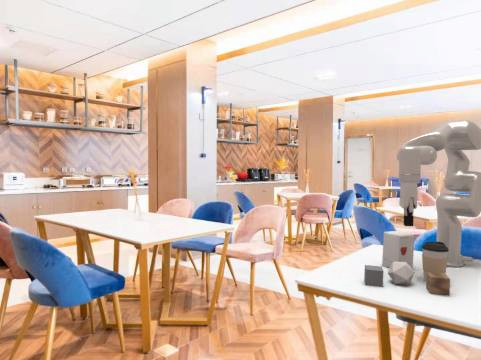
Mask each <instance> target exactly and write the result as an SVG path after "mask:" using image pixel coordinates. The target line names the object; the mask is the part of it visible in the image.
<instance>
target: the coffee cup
mask: <svg viewBox="0 0 481 360" xmlns="http://www.w3.org/2000/svg"><path fill="white" fill-rule="evenodd" d="M421 249H422V250H421V251H422V253H421V259H422V260H421V262H422V271H423V272H422V276H423V277H422V279H423V281H424V282H425V283H426V278H427V272H432V273H443V274H446V272H447V268H448V266H447V260H448V257H447V256H448V251H449V250H448V249H449V248H448V247H446V245H445V244H444V243H443V242H437V241H426V242H425V243H424V244H422V246H421Z"/></svg>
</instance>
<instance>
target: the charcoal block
mask: <svg viewBox="0 0 481 360" xmlns="http://www.w3.org/2000/svg"><path fill="white" fill-rule="evenodd" d="M363 274H364V276H363V277H364V279H363V280H364V281H363V282H364V285H365V286H369V287H378V288H383V287H384V269H383V265H382V266H381V265H370V264H369V265H368V264H365V265H364V273H363Z"/></svg>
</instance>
